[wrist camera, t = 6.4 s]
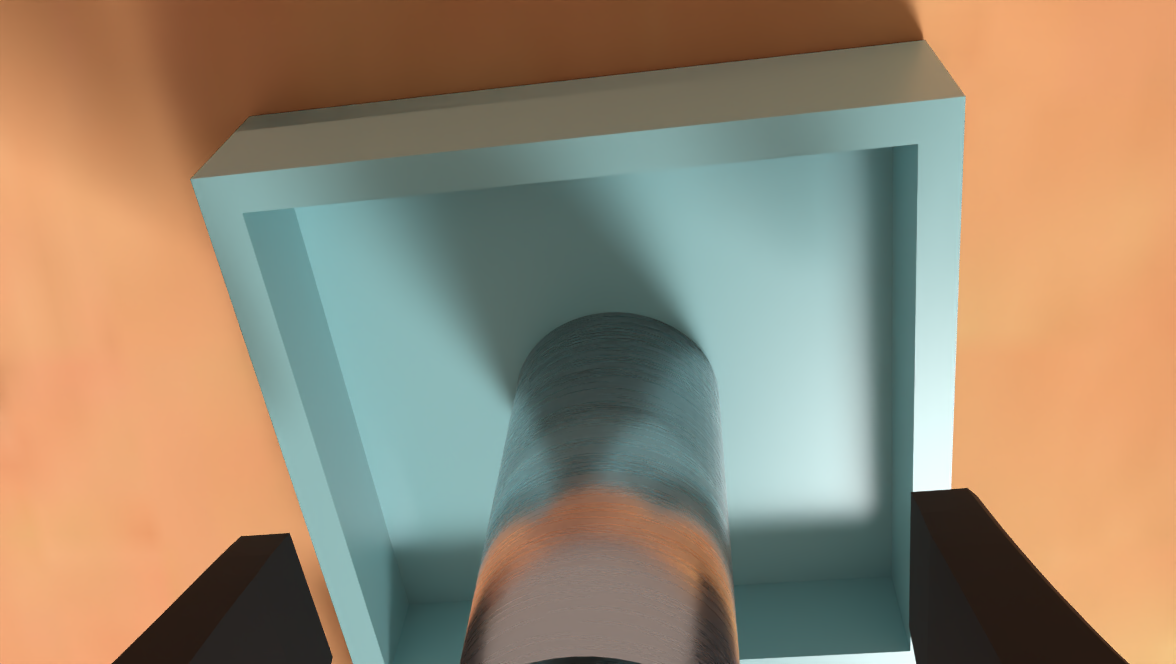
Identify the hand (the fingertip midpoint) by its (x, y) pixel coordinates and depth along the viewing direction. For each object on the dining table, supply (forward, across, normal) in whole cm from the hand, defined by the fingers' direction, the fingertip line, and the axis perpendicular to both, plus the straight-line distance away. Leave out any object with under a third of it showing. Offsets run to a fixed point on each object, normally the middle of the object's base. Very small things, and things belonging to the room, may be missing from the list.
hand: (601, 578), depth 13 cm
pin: (+4, 0, 0) cm, 4 cm away
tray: (+5, 0, 0) cm, 5 cm away
